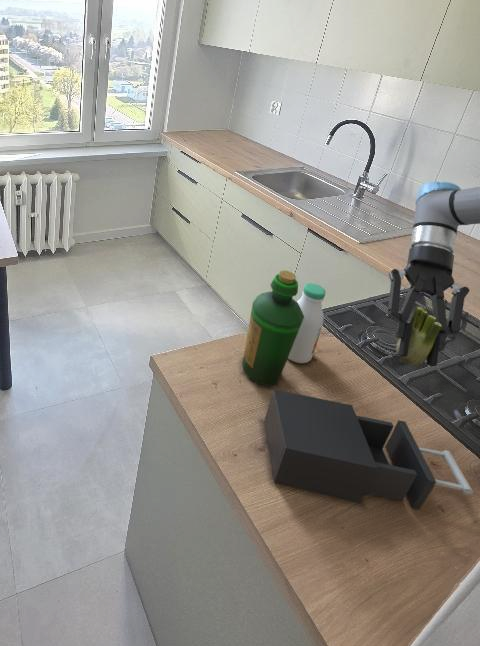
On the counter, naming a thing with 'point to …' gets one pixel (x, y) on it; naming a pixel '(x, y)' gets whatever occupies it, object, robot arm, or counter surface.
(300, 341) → the milk bottle
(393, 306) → the robot arm
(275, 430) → the cabinet
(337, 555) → the counter surface
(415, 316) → the fennel bulb
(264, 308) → the bottle
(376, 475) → the drawer
